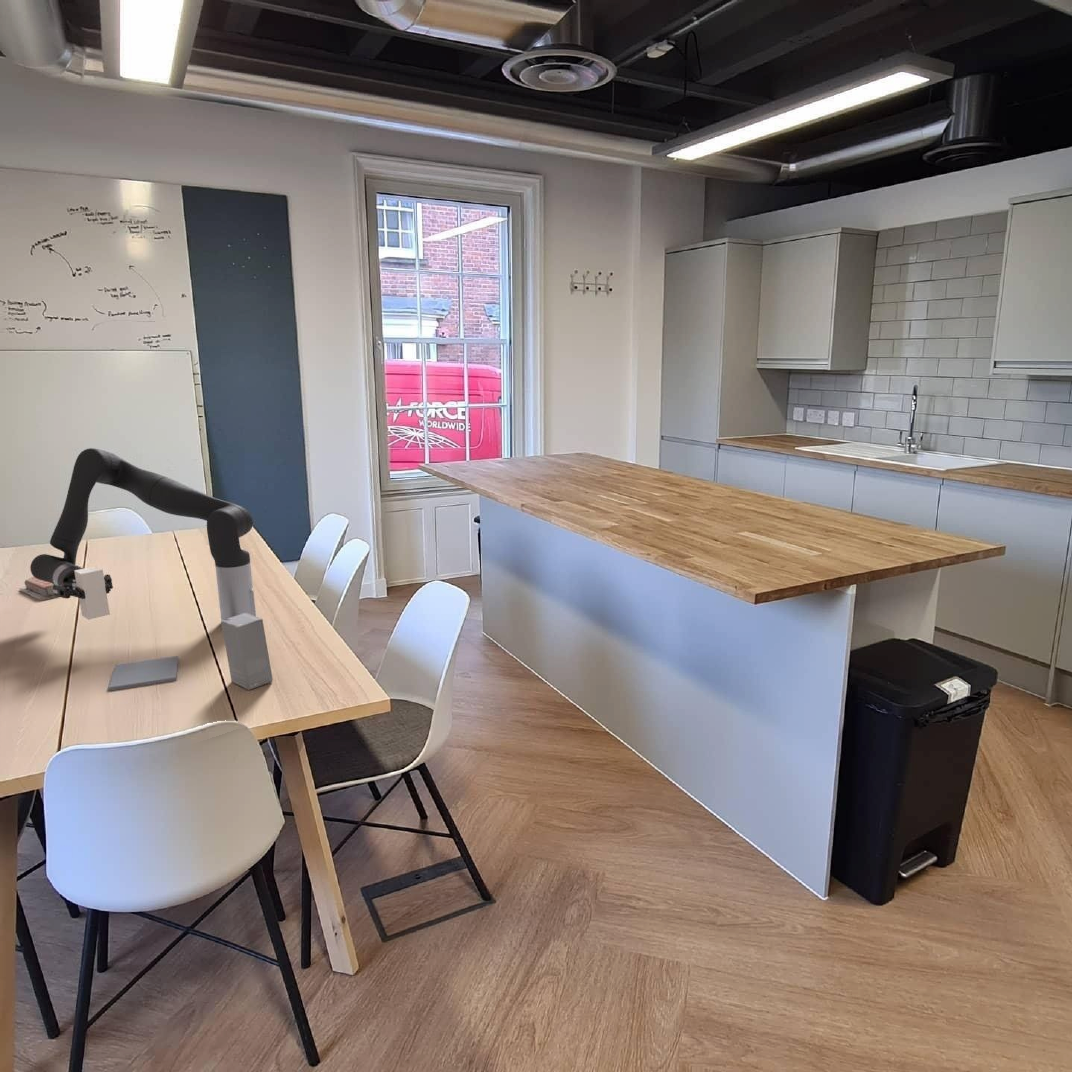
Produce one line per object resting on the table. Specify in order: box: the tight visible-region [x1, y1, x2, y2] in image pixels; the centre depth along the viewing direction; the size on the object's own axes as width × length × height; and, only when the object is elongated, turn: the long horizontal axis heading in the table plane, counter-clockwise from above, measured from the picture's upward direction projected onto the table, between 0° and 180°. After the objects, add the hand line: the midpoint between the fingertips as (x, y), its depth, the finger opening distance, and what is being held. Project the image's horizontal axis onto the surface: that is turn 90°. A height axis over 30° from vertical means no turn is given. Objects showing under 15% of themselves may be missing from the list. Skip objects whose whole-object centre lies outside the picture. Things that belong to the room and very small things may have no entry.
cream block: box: [74, 566, 111, 620], centre depth 194 cm, size 5×5×12 cm
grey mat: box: [108, 655, 180, 692], centre depth 183 cm, size 14×14×1 cm
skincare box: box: [220, 613, 274, 691], centre depth 176 cm, size 8×7×16 cm
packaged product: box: [19, 576, 58, 601], centre depth 246 cm, size 18×5×10 cm
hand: (95, 592), depth 192 cm, fingers closed on cream block, 5 cm apart
